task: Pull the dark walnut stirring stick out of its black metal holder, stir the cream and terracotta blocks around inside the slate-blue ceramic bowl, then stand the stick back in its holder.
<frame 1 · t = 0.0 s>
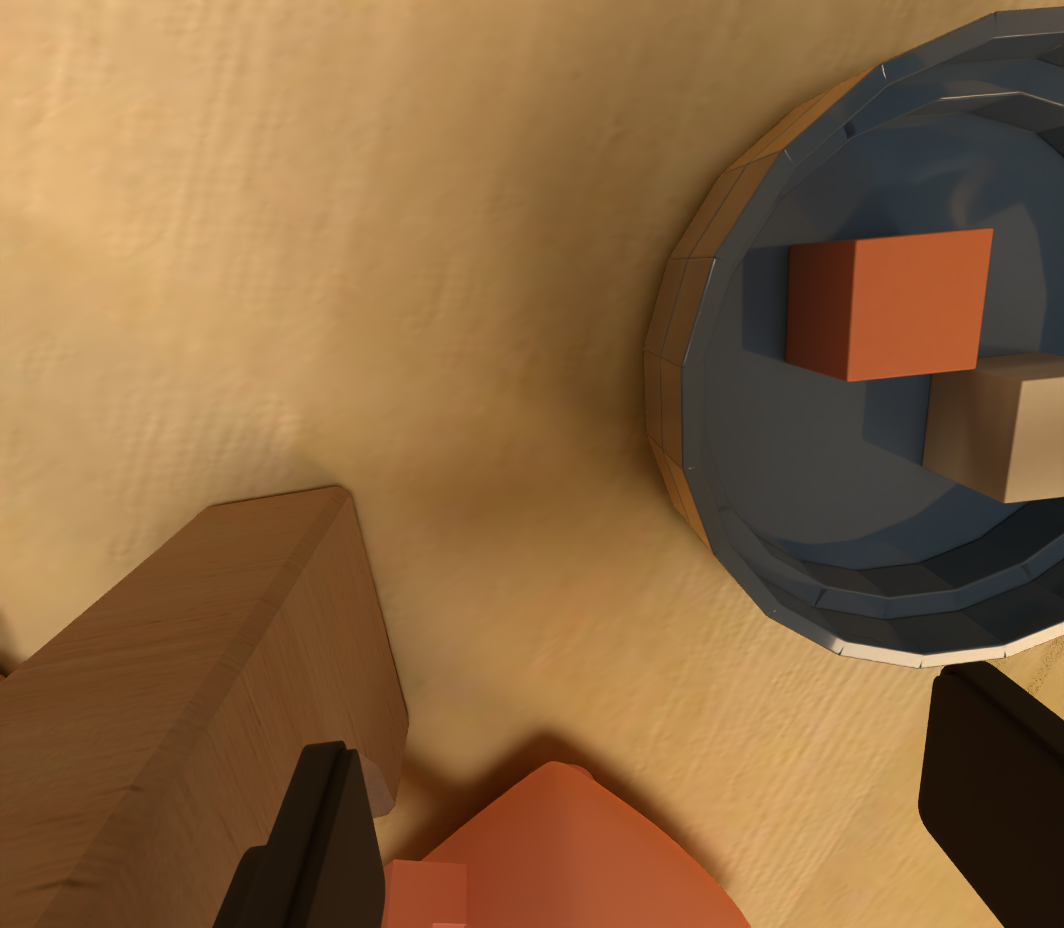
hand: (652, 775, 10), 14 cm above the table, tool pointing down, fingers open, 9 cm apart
decorative block: (315, 620, 25), on the table, touching gripper
bowl: (895, 362, 23), on the table
teapot: (565, 874, 30), on the table
cube a: (842, 300, 22), point 1 cm above the table, touching bowl
cube b: (978, 410, 23), point 1 cm above the table, touching bowl
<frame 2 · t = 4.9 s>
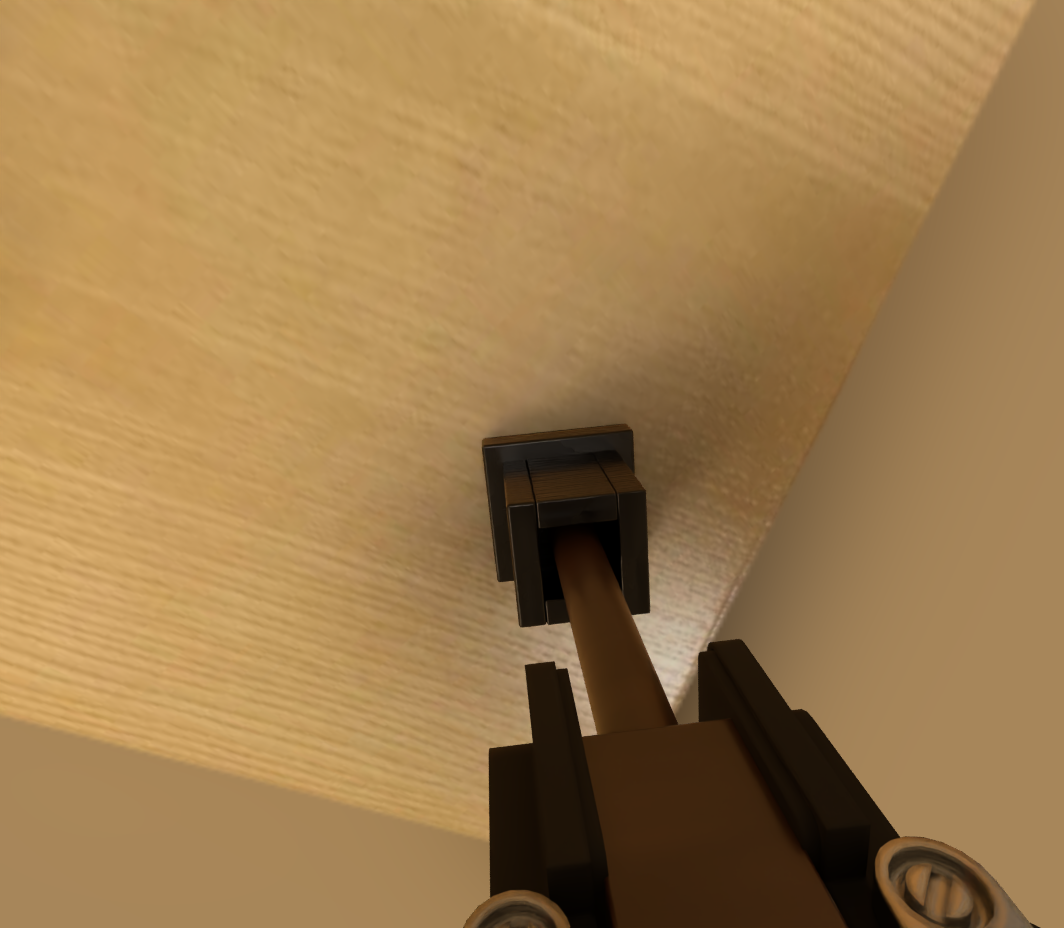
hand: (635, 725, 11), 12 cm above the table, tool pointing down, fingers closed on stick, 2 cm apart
stick: (563, 509, 21), point 1 cm above the table, touching gripper, holder
holder: (560, 498, 22), on the table
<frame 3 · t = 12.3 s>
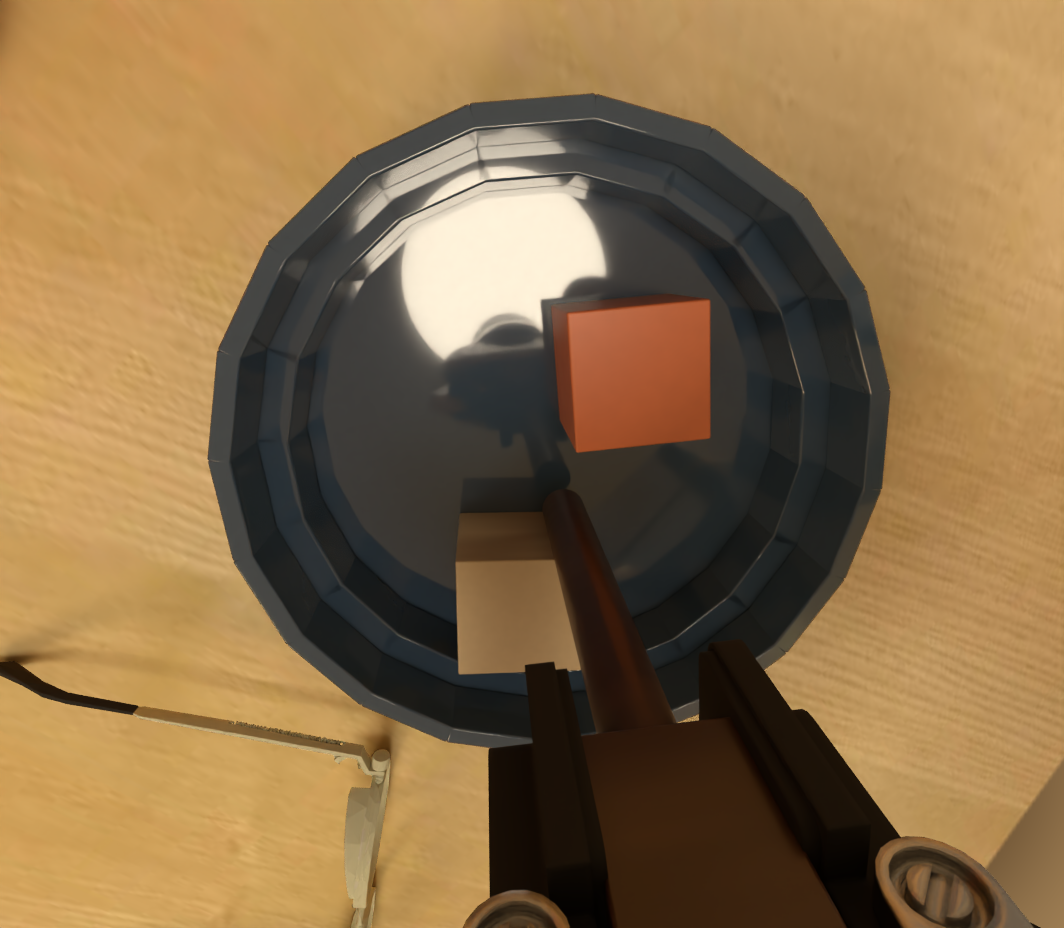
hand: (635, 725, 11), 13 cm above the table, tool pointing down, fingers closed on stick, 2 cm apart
stick: (562, 507, 21), point 2 cm above the table, touching gripper
eyeglasses: (204, 829, 27), on the table
bowl: (544, 432, 23), on the table
cube a: (613, 359, 21), point 1 cm above the table, touching bowl
cube b: (514, 561, 23), point 1 cm above the table, touching bowl
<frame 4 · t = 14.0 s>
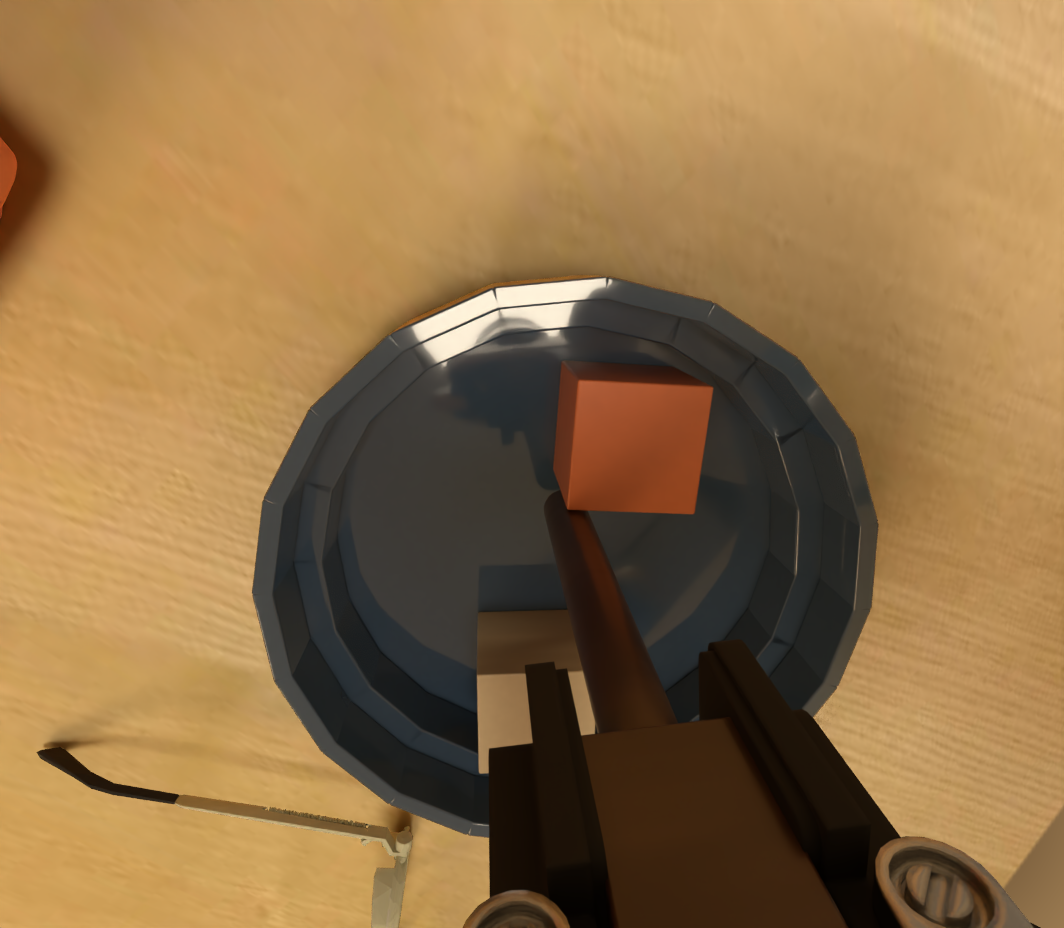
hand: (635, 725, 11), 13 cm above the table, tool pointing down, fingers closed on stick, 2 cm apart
stick: (564, 508, 21), point 2 cm above the table, touching gripper
eyeglasses: (235, 896, 28), on the table
bowl: (557, 536, 24), on the table
cube a: (612, 419, 22), point 1 cm above the table, touching bowl
cube b: (529, 654, 25), point 1 cm above the table, touching bowl
when the fingers open (12 cm above the table, at t = 23.2 s): stick stays where it is, resting on holder.
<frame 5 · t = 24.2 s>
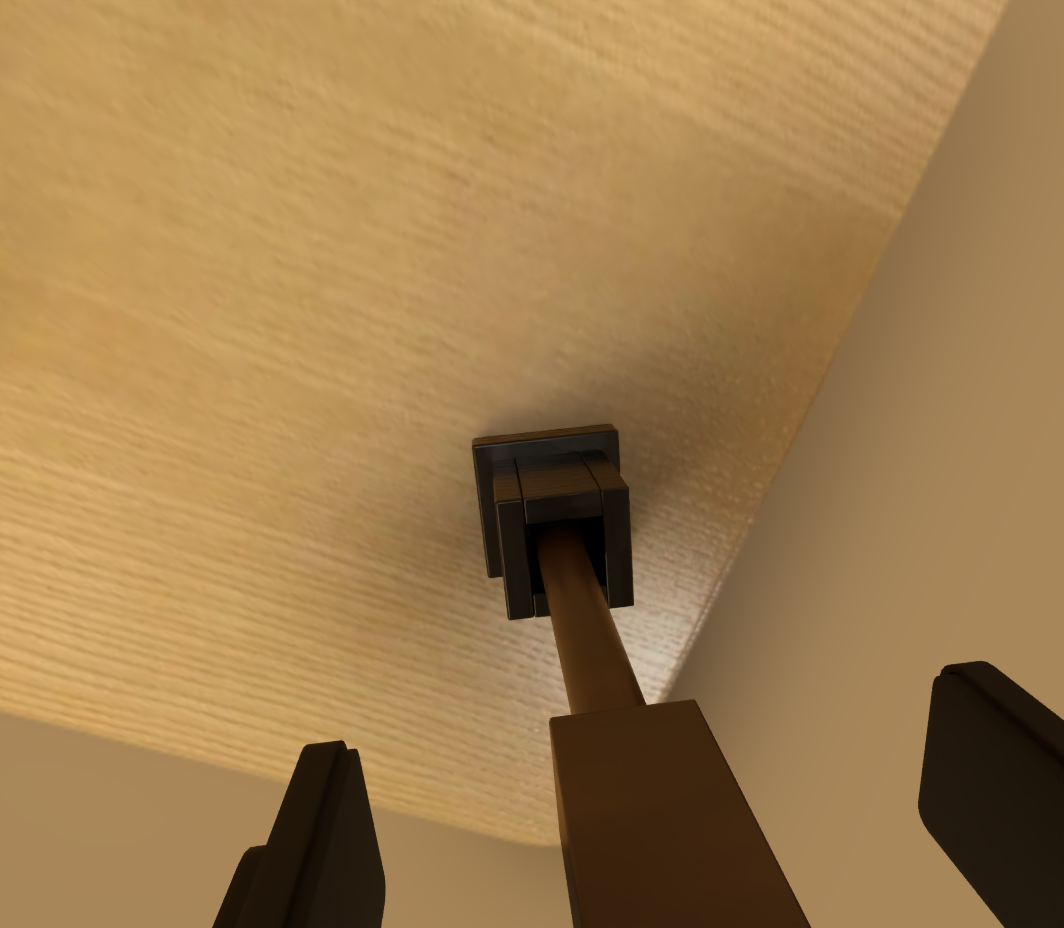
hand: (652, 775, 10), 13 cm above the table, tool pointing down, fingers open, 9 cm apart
stick: (548, 508, 22), point 1 cm above the table, touching holder
holder: (548, 496, 23), on the table
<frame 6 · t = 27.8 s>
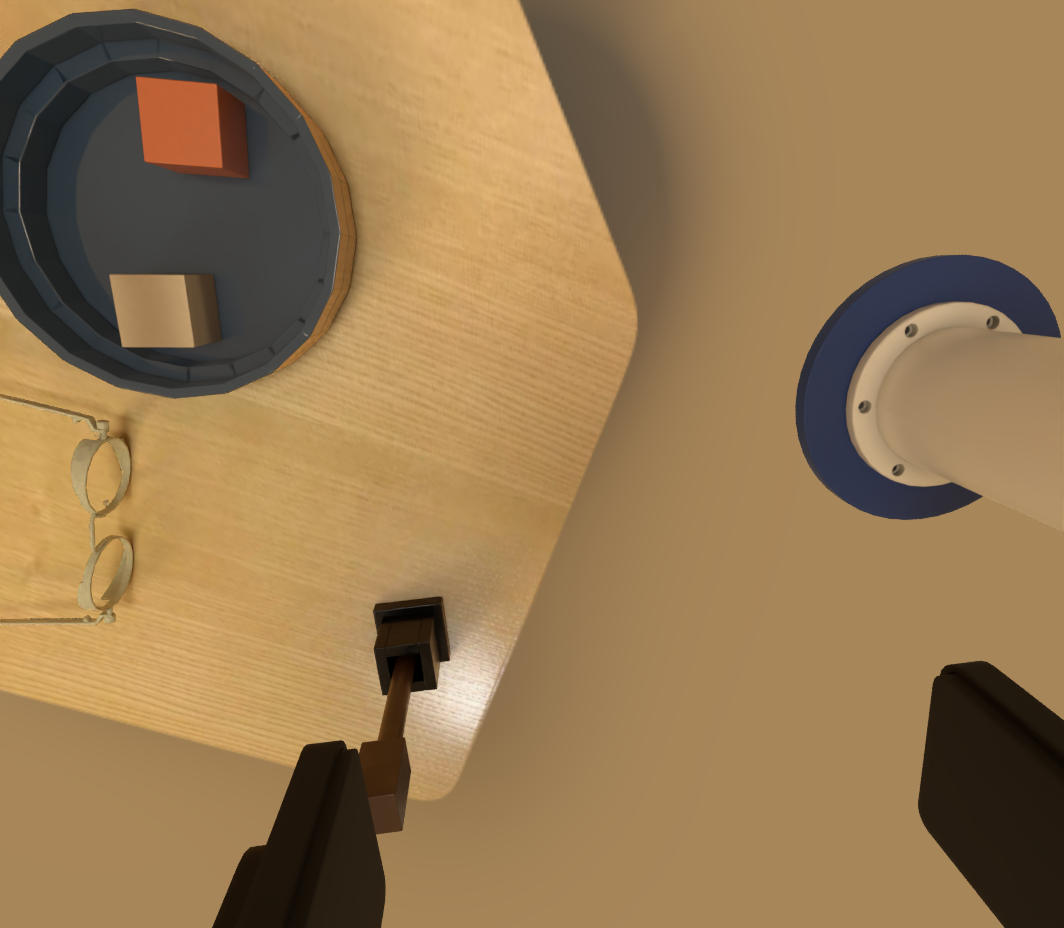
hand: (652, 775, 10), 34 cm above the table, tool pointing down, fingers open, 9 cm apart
stick: (410, 637, 47), point 1 cm above the table, touching holder
eyeglasses: (16, 497, 43), on the table
bowl: (196, 226, 38), on the table
cube a: (211, 138, 36), point 1 cm above the table, touching bowl
cube b: (184, 307, 39), point 1 cm above the table, touching bowl
holder: (413, 629, 48), on the table
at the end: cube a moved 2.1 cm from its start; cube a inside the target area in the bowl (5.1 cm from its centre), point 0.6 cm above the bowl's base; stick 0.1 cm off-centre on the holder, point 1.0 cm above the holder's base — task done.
